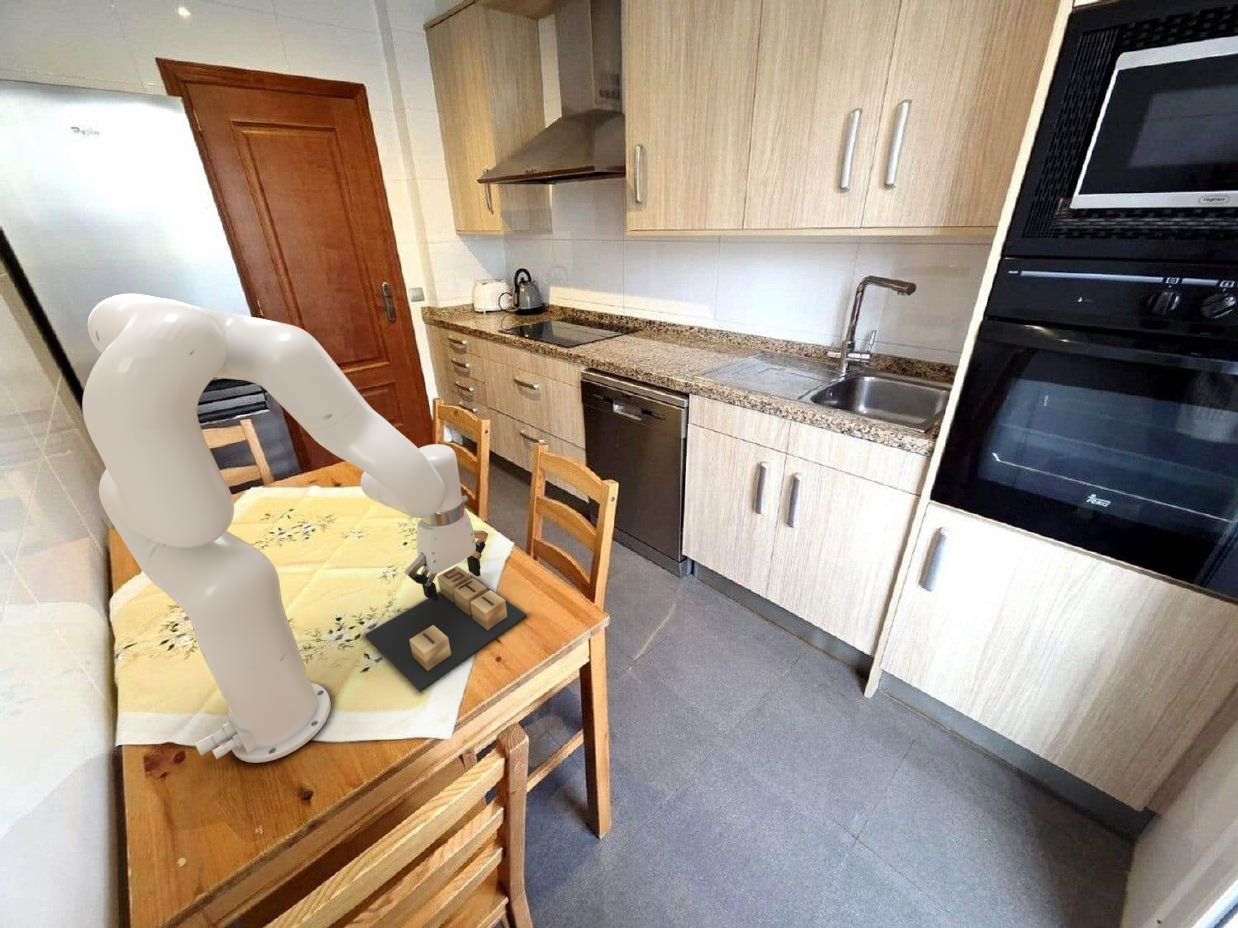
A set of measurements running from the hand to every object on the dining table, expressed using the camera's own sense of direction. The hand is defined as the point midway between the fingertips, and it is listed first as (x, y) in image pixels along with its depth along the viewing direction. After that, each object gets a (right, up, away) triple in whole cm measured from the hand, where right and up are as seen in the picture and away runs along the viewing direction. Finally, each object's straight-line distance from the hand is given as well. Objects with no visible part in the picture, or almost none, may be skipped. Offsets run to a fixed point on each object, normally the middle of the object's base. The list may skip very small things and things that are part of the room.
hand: (454, 585), depth 99 cm
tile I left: (+1, -9, -14) cm, 16 cm away
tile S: (0, -1, +1) cm, 2 cm away
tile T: (+4, -3, -2) cm, 6 cm away
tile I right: (+9, -5, -5) cm, 11 cm away
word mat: (+1, -6, -7) cm, 9 cm away
